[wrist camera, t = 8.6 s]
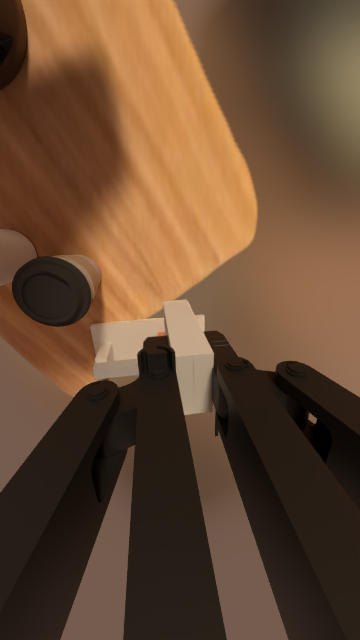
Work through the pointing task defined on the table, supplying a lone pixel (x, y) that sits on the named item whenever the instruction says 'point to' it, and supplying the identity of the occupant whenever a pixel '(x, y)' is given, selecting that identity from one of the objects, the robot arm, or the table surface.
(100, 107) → the table surface
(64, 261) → the coffee cup
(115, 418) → the robot arm
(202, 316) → the rail
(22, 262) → the milk bottle
